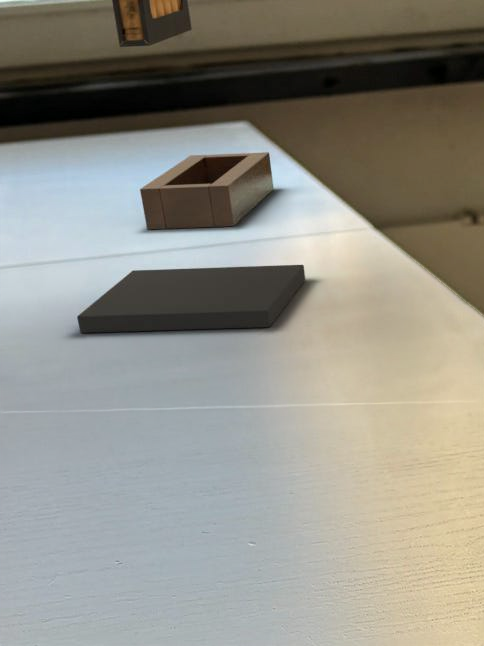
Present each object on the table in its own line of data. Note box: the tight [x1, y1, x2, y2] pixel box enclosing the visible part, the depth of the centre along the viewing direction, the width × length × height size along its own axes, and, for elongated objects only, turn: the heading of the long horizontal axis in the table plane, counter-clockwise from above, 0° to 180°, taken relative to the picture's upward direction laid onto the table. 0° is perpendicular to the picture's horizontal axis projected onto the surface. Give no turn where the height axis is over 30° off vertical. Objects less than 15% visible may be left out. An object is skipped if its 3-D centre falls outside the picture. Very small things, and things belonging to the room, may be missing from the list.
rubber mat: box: [76, 264, 306, 334], centre depth 88 cm, size 12×12×1 cm
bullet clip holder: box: [139, 151, 275, 230], centre depth 114 cm, size 7×16×3 cm, turn 175°
